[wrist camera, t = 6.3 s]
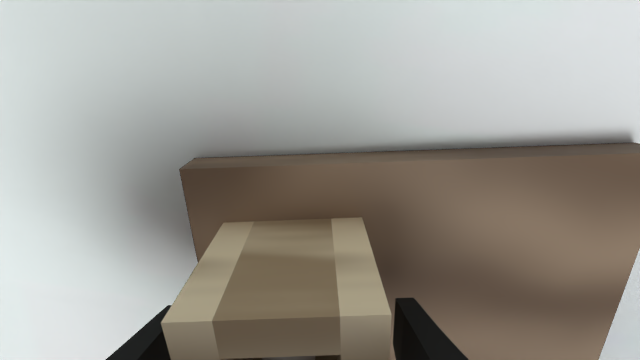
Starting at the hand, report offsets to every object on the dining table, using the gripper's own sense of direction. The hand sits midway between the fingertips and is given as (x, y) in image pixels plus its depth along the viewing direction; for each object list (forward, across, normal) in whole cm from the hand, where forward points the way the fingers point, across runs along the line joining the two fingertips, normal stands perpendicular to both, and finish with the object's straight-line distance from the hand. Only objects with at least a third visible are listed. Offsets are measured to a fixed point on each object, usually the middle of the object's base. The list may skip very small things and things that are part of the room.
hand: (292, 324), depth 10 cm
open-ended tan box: (+2, 0, 0) cm, 2 cm away
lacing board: (+4, -5, +1) cm, 6 cm away
